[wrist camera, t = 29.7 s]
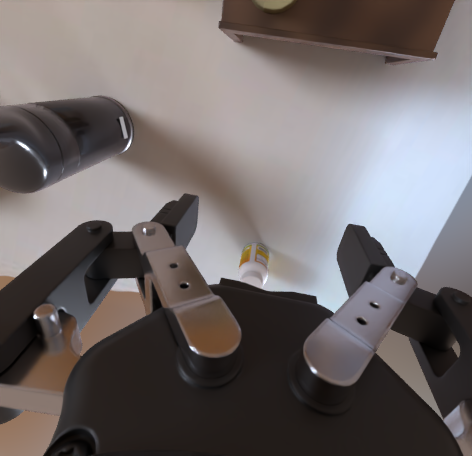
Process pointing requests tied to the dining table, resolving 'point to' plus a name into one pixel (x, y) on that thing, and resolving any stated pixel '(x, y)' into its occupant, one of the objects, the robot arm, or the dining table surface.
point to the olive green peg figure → (274, 5)
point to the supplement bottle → (254, 265)
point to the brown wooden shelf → (347, 25)
